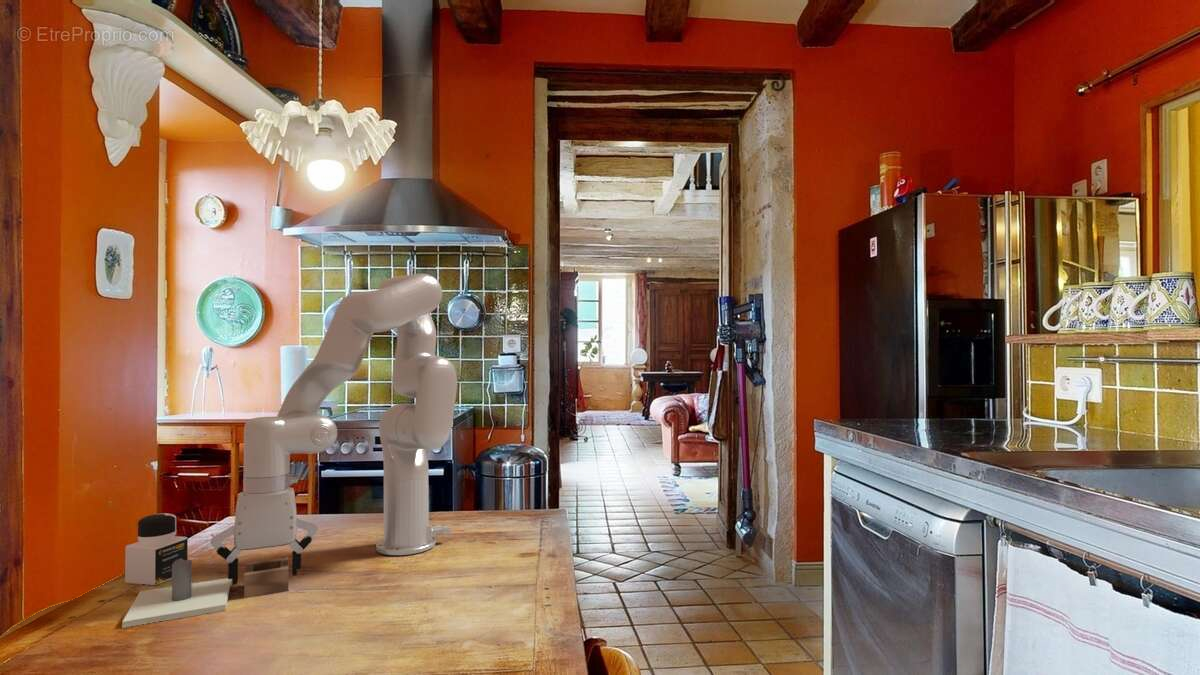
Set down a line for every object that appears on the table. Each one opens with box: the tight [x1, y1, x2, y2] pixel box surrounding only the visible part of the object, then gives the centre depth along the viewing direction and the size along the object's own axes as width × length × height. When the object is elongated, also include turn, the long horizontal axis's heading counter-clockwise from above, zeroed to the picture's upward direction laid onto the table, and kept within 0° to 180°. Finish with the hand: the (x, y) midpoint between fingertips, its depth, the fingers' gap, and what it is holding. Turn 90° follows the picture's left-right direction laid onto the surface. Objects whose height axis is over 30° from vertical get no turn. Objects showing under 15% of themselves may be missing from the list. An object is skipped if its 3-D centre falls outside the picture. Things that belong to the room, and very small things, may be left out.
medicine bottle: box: [124, 512, 189, 586], centre depth 119 cm, size 7×7×12 cm
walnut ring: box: [243, 557, 289, 599], centre depth 114 cm, size 7×7×4 cm
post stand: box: [121, 559, 232, 629], centre depth 107 cm, size 14×14×7 cm
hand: (265, 577), depth 114 cm, fingers open, 9 cm apart
